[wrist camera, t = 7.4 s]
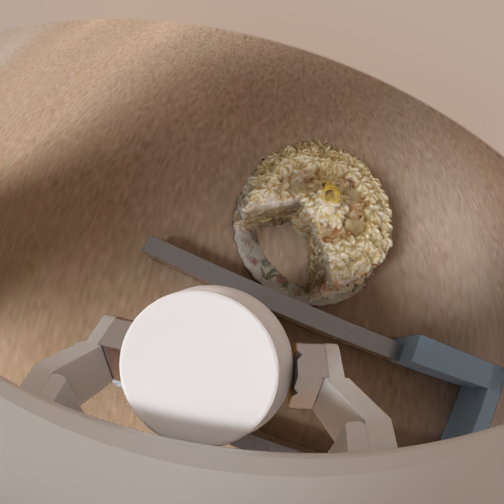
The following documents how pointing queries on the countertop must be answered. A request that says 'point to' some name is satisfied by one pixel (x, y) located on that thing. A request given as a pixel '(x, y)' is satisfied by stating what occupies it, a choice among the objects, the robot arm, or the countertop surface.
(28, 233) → the countertop surface
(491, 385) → the socket block
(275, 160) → the cake
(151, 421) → the supplement bottle
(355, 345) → the guide rails
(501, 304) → the countertop surface
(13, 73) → the countertop surface
